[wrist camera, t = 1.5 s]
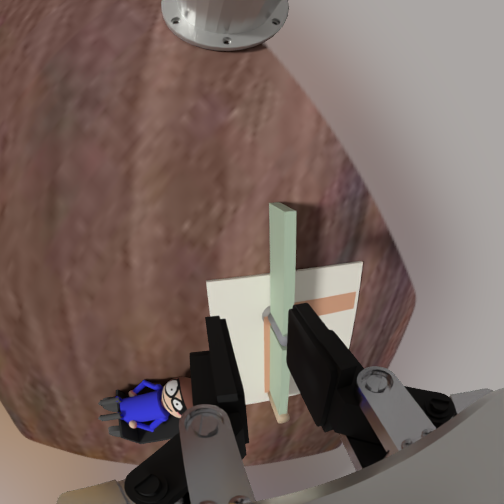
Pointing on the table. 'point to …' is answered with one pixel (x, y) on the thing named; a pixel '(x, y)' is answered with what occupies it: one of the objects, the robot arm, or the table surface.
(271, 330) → the fixed fence panel
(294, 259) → the hinged fence panel
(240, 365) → the card
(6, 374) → the table surface
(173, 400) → the character figurine
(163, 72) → the table surface
